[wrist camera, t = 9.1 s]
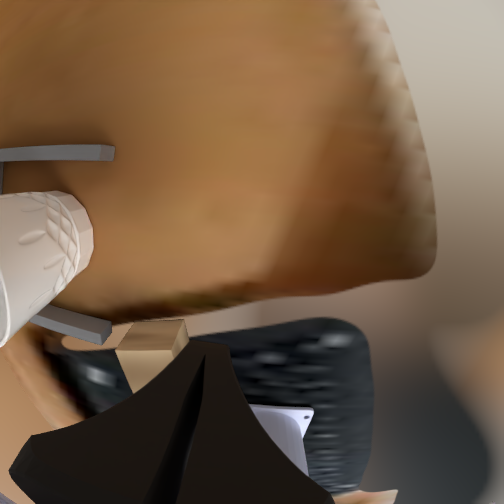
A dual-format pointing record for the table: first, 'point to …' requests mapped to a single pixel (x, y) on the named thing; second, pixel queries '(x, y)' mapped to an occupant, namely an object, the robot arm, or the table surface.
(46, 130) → the table surface
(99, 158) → the grey u-shaped bracket
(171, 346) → the oak cube
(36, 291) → the white cup
